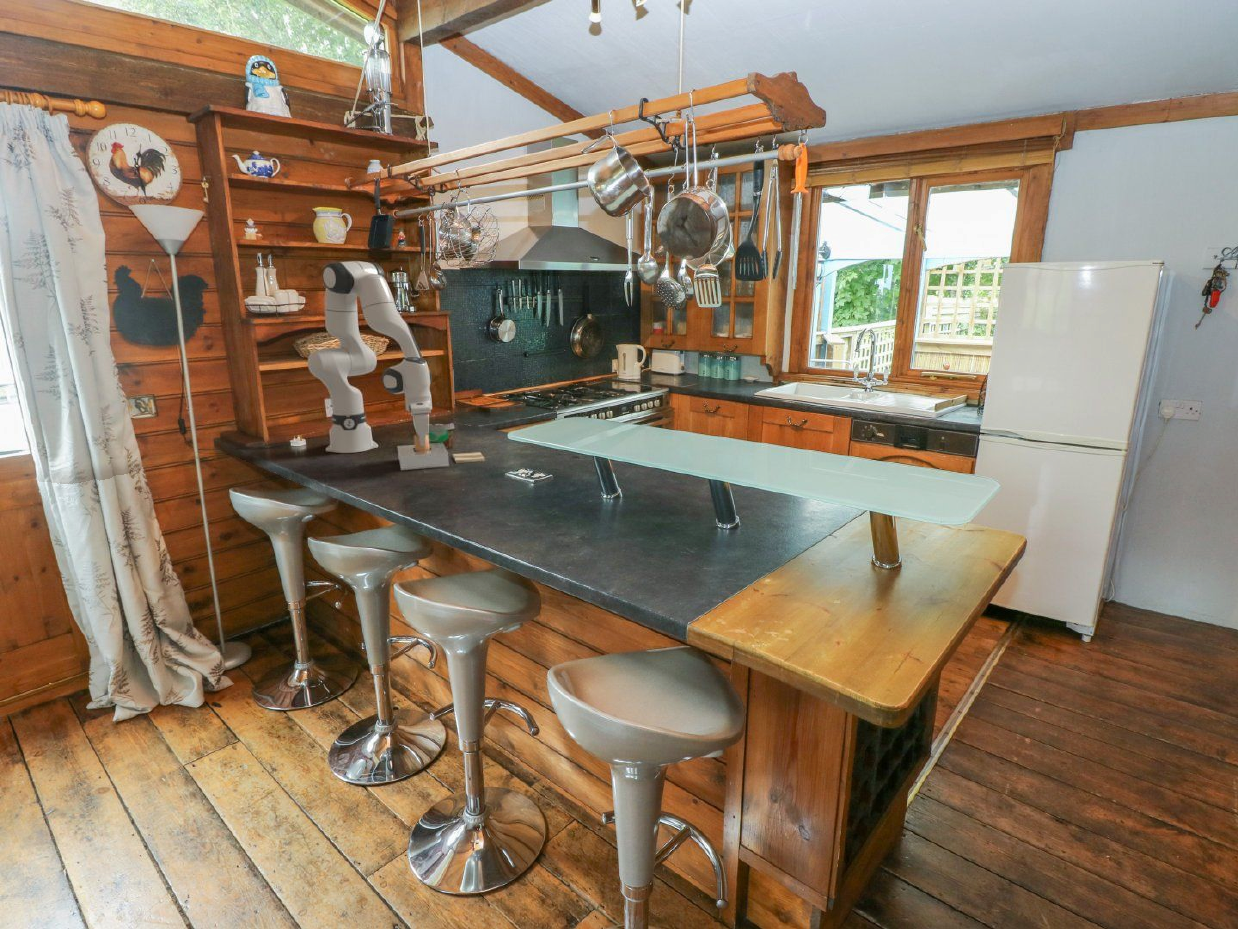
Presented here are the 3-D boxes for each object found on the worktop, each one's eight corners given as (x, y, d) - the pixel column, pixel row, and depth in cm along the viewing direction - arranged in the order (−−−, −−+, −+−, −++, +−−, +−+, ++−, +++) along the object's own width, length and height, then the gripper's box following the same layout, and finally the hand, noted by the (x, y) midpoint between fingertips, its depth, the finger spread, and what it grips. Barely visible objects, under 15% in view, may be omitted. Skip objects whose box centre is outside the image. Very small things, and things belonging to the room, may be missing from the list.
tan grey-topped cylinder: (415, 461, 239) (413, 432, 237) (430, 460, 241) (427, 431, 238) (416, 465, 235) (414, 435, 232) (431, 463, 237) (428, 434, 234)
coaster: (453, 456, 246) (452, 454, 246) (480, 454, 250) (480, 451, 249) (456, 463, 237) (456, 460, 237) (484, 460, 240) (484, 458, 240)
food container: (419, 449, 257) (417, 424, 255) (428, 446, 263) (426, 421, 260) (447, 451, 254) (445, 426, 251) (456, 448, 260) (454, 423, 257)
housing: (398, 459, 243) (397, 446, 241) (443, 455, 248) (442, 442, 247) (401, 470, 228) (399, 456, 227) (448, 466, 233) (447, 452, 232)
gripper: (407, 400, 241) (410, 437, 244) (411, 409, 222) (414, 450, 226) (425, 399, 243) (428, 436, 247) (430, 408, 225) (433, 448, 228)
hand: (421, 443), depth 236 cm, fingers closed on tan grey-topped cylinder, 5 cm apart
